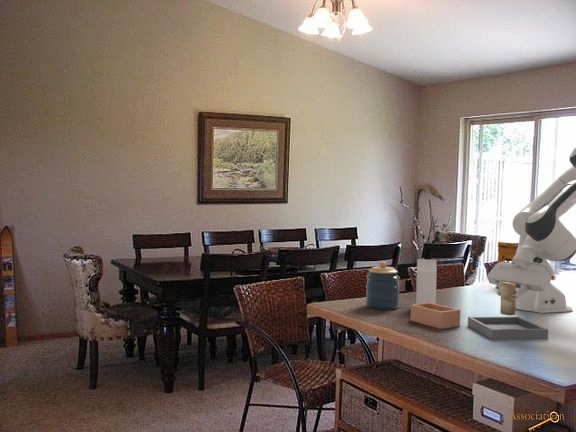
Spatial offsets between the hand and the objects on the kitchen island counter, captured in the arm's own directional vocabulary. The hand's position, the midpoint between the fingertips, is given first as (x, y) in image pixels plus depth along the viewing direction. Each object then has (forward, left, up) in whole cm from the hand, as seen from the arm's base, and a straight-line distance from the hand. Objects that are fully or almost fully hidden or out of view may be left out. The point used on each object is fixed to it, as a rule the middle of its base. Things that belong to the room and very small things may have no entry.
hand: (507, 295), depth 181 cm
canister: (+30, -41, -12) cm, 53 cm away
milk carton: (+14, -38, -12) cm, 42 cm away
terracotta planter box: (+19, -14, -12) cm, 26 cm away
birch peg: (-1, 0, -6) cm, 6 cm away
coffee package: (-43, -84, -12) cm, 95 cm away
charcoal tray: (0, -1, -12) cm, 12 cm away
